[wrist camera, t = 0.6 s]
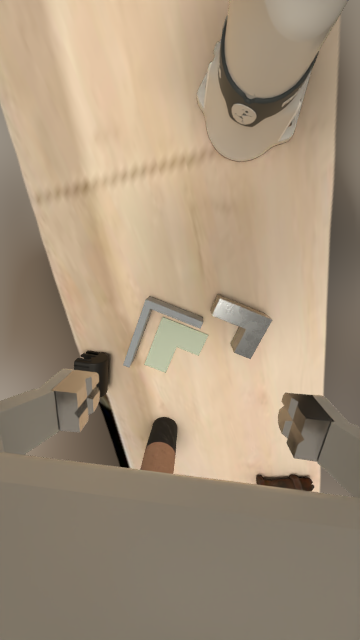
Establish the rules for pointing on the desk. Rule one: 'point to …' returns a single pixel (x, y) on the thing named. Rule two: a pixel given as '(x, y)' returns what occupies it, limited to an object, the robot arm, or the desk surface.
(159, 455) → the travel mug
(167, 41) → the desk surface
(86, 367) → the end cap
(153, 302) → the corner walls
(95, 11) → the desk surface
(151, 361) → the mat
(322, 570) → the robot arm
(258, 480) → the bolt
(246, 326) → the bracket
